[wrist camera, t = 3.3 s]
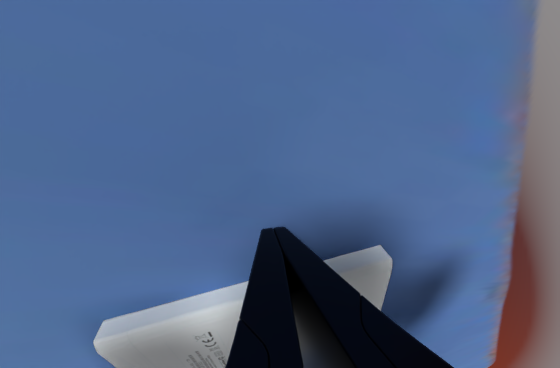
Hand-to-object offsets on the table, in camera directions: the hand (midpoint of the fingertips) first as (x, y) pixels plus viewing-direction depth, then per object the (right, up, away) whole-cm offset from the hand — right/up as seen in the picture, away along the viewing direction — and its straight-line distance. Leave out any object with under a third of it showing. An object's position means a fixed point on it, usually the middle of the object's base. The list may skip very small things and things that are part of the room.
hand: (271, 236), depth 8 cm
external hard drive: (-1, -5, +4) cm, 7 cm away
